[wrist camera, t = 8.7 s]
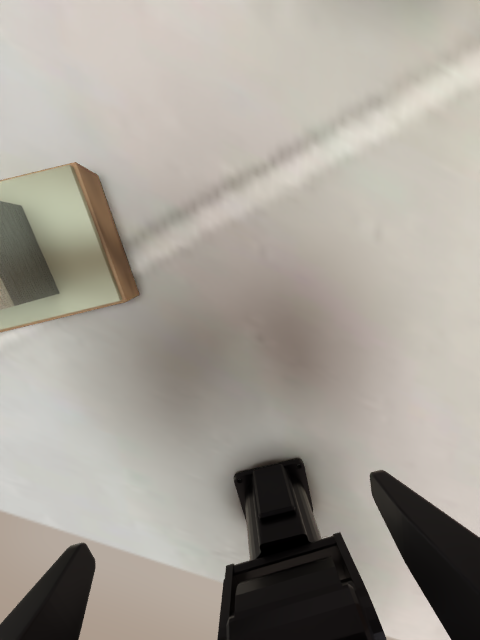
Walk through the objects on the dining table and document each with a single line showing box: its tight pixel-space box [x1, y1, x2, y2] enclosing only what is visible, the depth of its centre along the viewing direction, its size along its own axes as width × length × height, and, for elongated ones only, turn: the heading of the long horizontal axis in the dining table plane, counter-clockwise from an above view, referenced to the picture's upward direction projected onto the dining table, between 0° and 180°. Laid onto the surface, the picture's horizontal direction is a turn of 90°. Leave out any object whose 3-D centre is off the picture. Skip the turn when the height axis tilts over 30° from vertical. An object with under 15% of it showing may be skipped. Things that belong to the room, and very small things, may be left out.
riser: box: [0, 162, 139, 332], centre depth 16 cm, size 8×12×3 cm, turn 103°
